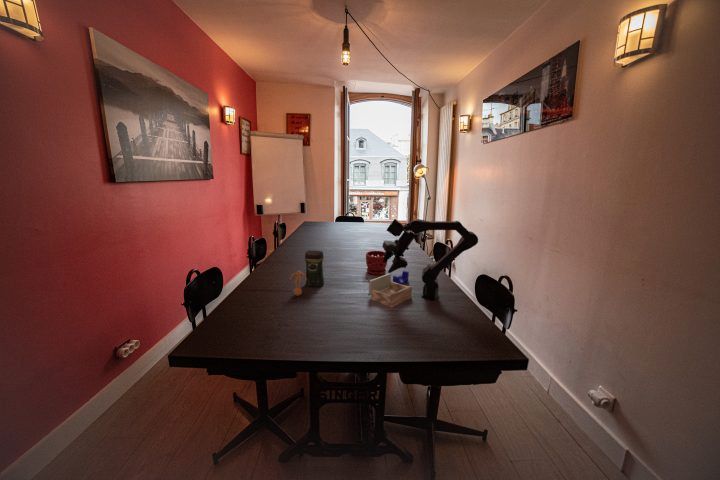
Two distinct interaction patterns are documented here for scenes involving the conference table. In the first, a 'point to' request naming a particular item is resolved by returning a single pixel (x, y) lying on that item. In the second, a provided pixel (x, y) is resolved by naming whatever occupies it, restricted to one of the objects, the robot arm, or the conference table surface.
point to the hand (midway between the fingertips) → (385, 267)
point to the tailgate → (380, 283)
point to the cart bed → (392, 294)
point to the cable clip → (401, 278)
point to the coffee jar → (314, 268)
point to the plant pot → (375, 262)
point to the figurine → (298, 290)
